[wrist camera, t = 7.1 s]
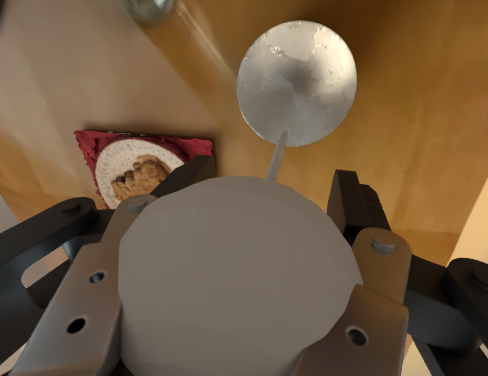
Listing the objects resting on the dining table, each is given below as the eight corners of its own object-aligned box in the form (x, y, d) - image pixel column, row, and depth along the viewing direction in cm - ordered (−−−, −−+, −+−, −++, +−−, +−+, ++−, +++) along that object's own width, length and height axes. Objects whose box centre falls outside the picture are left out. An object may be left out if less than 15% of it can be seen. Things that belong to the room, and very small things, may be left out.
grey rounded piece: (276, 12, 30) (257, 0, 20) (360, 43, 29) (384, 47, 19) (249, 99, 36) (224, 124, 26) (318, 126, 35) (321, 161, 25)
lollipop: (347, 154, 16) (464, 570, 4) (267, 186, 19) (177, 492, 6) (305, 62, 14) (244, 299, 2) (222, 113, 17) (-51, 353, 4)
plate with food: (81, 127, 45) (65, 133, 42) (214, 138, 39) (206, 146, 37) (118, 228, 58) (107, 238, 55) (223, 247, 52) (217, 260, 49)
